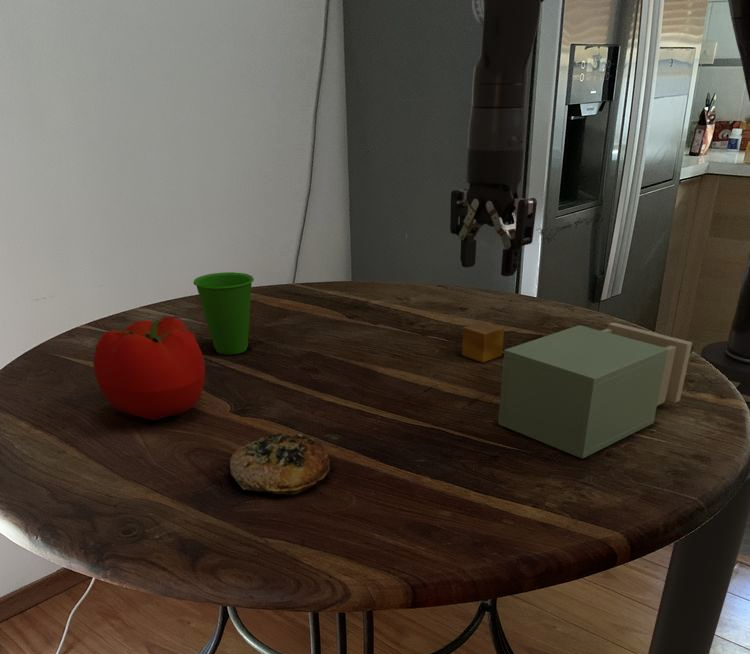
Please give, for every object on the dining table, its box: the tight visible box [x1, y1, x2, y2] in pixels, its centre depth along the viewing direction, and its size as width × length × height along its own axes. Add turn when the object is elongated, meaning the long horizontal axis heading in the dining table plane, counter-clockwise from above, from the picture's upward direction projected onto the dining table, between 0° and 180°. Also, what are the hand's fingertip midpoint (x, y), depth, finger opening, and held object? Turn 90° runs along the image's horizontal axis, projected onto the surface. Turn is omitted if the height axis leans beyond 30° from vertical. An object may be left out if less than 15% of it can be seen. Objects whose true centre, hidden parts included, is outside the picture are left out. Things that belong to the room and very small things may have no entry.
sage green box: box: [497, 324, 668, 459], centre depth 89 cm, size 15×13×10 cm
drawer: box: [600, 321, 694, 407], centre depth 95 cm, size 20×11×8 cm, turn 130°
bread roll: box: [229, 433, 331, 496], centre depth 80 cm, size 11×11×5 cm
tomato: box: [92, 316, 206, 422], centre depth 93 cm, size 13×14×12 cm
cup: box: [193, 271, 255, 355], centre depth 114 cm, size 9×9×11 cm
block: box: [461, 321, 505, 363], centre depth 112 cm, size 4×4×4 cm
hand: (487, 270), depth 107 cm, fingers open, 7 cm apart
